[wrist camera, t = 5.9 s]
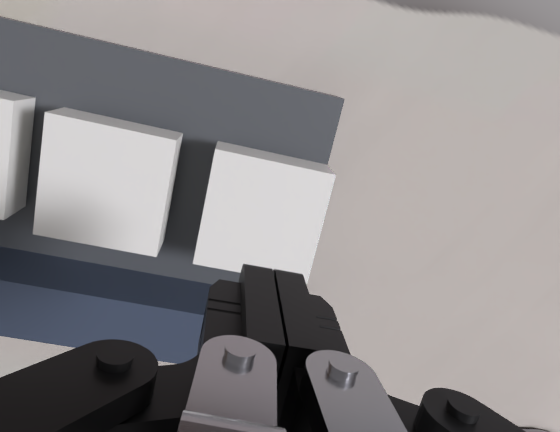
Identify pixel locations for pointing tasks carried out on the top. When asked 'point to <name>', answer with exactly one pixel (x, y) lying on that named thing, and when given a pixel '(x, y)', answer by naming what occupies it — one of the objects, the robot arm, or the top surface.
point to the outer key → (14, 150)
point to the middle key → (105, 181)
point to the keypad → (185, 198)
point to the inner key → (262, 210)
